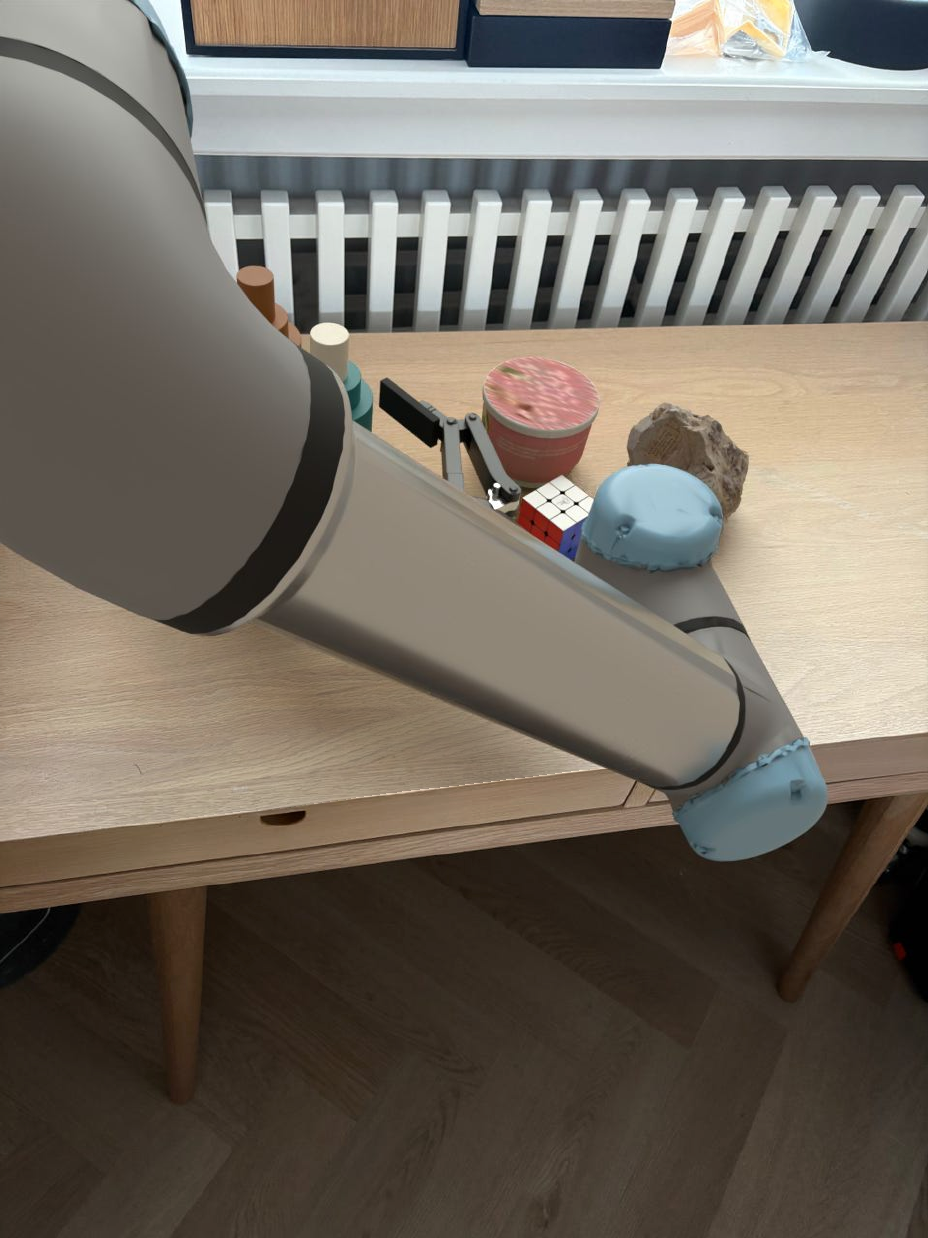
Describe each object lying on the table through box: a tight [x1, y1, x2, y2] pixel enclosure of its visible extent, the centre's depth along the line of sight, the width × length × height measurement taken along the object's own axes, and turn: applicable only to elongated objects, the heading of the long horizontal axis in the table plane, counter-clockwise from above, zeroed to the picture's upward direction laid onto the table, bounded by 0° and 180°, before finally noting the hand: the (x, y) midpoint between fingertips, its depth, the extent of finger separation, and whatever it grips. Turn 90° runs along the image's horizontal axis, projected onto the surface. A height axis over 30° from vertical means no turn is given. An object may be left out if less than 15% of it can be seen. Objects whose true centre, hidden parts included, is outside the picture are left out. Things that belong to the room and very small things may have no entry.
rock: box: [626, 402, 750, 524], centre depth 92 cm, size 9×12×10 cm
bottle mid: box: [235, 265, 302, 348], centre depth 85 cm, size 7×7×19 cm
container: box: [481, 356, 601, 489], centre depth 94 cm, size 10×10×8 cm
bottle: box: [309, 322, 374, 433], centre depth 82 cm, size 7×7×19 cm
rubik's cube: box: [516, 475, 594, 561], centre depth 88 cm, size 5×5×5 cm
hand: (317, 422), depth 82 cm, fingers open, 13 cm apart
